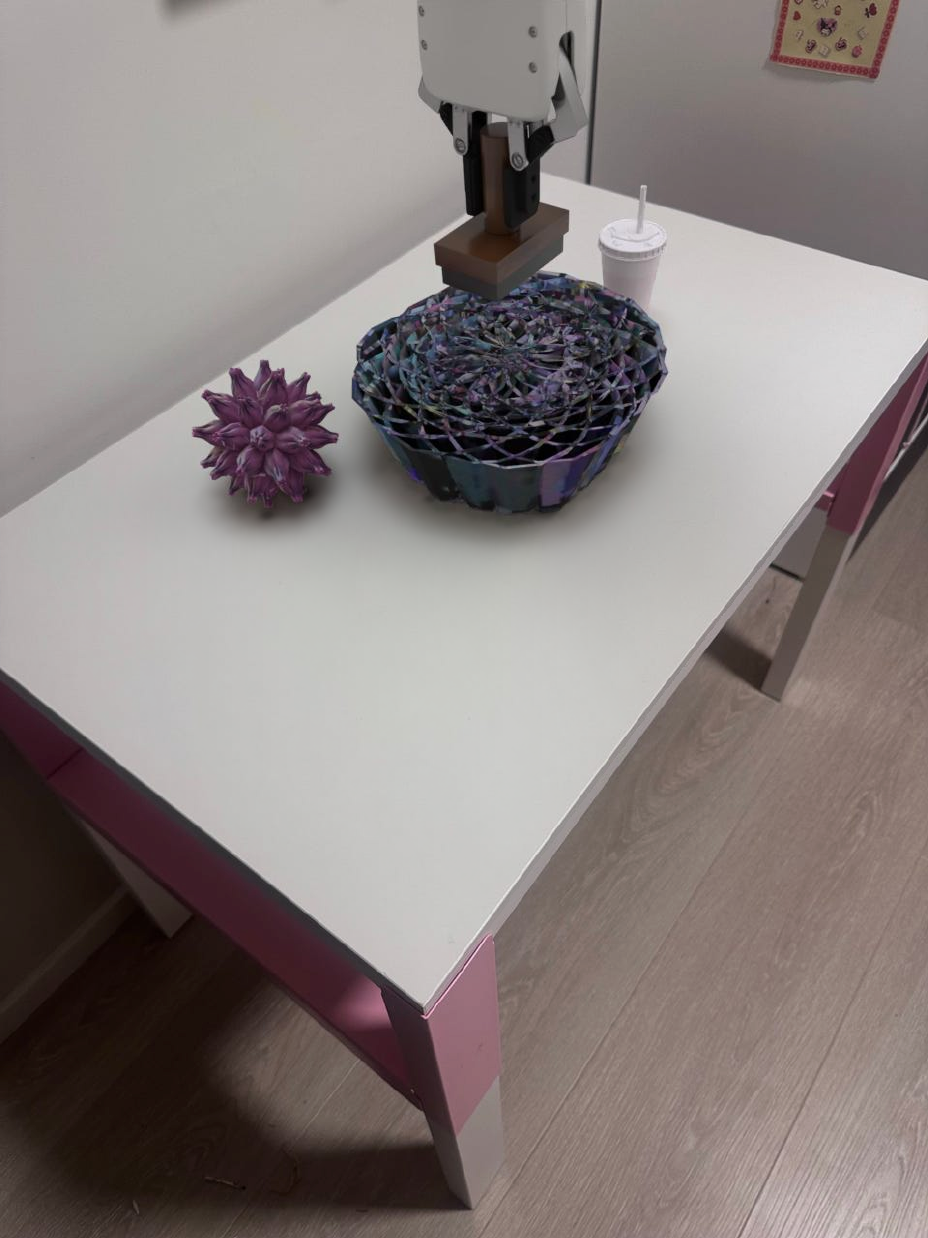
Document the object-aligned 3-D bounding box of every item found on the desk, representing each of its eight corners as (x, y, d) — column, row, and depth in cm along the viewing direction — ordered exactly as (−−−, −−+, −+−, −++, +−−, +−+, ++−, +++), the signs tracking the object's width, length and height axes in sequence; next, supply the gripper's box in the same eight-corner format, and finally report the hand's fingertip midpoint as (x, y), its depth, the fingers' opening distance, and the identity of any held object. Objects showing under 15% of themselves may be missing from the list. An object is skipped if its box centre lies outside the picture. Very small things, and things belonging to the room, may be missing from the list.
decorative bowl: (311, 485, 79) (282, 398, 71) (477, 315, 91) (467, 224, 83) (562, 595, 69) (560, 507, 61) (709, 386, 81) (724, 291, 73)
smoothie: (660, 344, 87) (679, 201, 76) (594, 346, 87) (604, 205, 76) (652, 308, 91) (668, 168, 80) (589, 311, 91) (598, 172, 80)
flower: (271, 561, 73) (175, 481, 76) (372, 479, 78) (278, 408, 81) (252, 470, 63) (143, 384, 66) (369, 383, 68) (262, 307, 71)
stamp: (509, 232, 68) (506, 97, 61) (568, 250, 66) (572, 112, 59) (436, 284, 64) (424, 146, 57) (497, 305, 62) (492, 164, 54)
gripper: (658, -125, 46) (629, 220, 60) (423, -145, 53) (446, 168, 67) (580, -90, 43) (568, 268, 57) (339, -117, 50) (381, 208, 64)
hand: (502, 211), depth 62 cm, fingers closed on stamp, 2 cm apart
